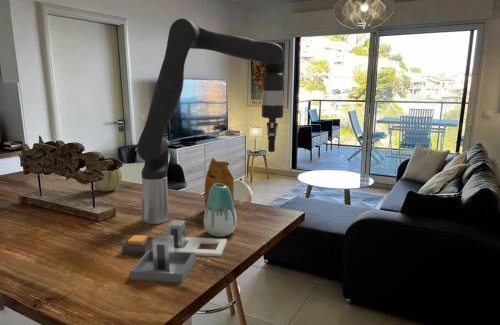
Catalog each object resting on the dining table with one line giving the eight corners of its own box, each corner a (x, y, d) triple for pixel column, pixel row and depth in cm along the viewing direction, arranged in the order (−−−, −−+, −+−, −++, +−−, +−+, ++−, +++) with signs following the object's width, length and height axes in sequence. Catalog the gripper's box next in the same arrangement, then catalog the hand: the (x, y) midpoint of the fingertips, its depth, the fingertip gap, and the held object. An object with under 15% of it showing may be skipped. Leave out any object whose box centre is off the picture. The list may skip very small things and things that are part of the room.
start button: (128, 248, 112) (128, 240, 111) (134, 242, 116) (134, 235, 115) (142, 248, 111) (142, 241, 111) (148, 242, 115) (147, 235, 115)
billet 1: (153, 272, 100) (152, 241, 98) (159, 264, 104) (158, 234, 102) (169, 273, 99) (168, 242, 98) (174, 265, 104) (173, 235, 102)
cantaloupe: (92, 188, 188) (90, 159, 185) (122, 186, 192) (121, 157, 189) (89, 196, 174) (86, 165, 171) (122, 193, 178) (120, 163, 175)
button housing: (123, 257, 111) (122, 245, 110) (132, 247, 118) (132, 236, 117) (145, 259, 110) (144, 246, 109) (153, 249, 117) (153, 237, 116)
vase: (241, 229, 134) (241, 181, 130) (229, 241, 123) (229, 190, 120) (212, 225, 138) (211, 179, 134) (198, 237, 127) (196, 186, 123)
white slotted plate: (155, 256, 112) (155, 250, 112) (167, 241, 123) (167, 236, 122) (220, 260, 110) (220, 253, 109) (227, 244, 121) (226, 239, 120)
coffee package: (221, 205, 161) (221, 156, 157) (236, 213, 151) (236, 160, 147) (201, 209, 156) (200, 158, 151) (215, 218, 145) (214, 163, 141)
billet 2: (168, 252, 115) (167, 225, 113) (172, 246, 119) (171, 220, 117) (181, 253, 114) (181, 225, 112) (186, 247, 119) (185, 220, 117)
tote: (130, 283, 96) (129, 271, 96) (149, 260, 109) (148, 249, 108) (182, 286, 95) (182, 274, 94) (195, 263, 108) (195, 252, 107)
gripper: (262, 103, 136) (261, 146, 139) (261, 104, 122) (260, 152, 125) (283, 103, 135) (281, 146, 139) (283, 104, 122) (282, 153, 125)
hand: (271, 149), depth 132 cm, fingers open, 8 cm apart
